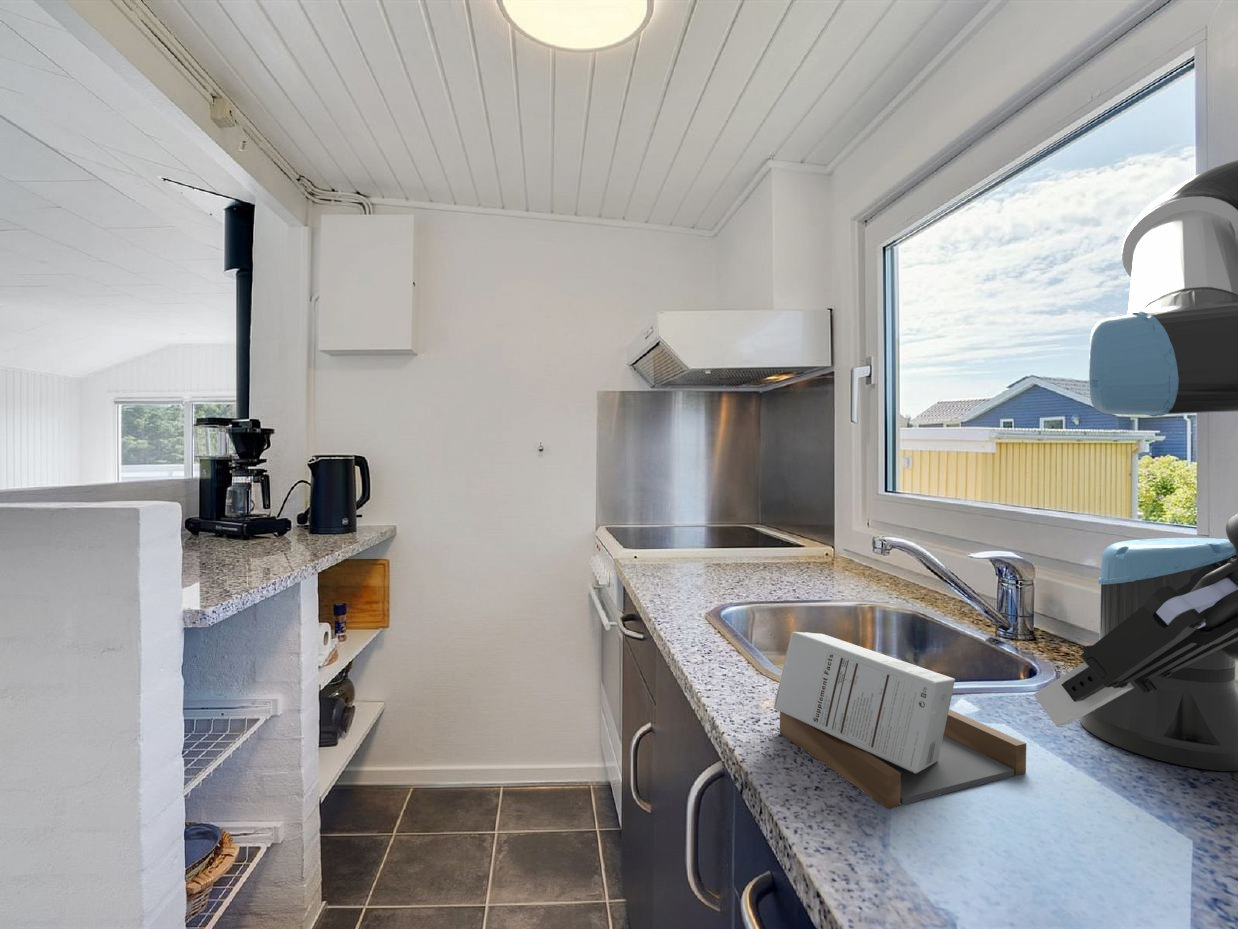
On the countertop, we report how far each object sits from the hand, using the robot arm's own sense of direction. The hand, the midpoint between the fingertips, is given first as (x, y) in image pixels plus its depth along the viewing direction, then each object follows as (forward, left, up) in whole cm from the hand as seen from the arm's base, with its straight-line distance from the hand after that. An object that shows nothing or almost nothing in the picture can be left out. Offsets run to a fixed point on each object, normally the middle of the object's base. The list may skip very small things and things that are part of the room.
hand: (1051, 709), depth 50 cm
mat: (-1, -17, -11) cm, 20 cm away
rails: (-1, -17, -11) cm, 20 cm away
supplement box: (0, -10, -6) cm, 12 cm away
